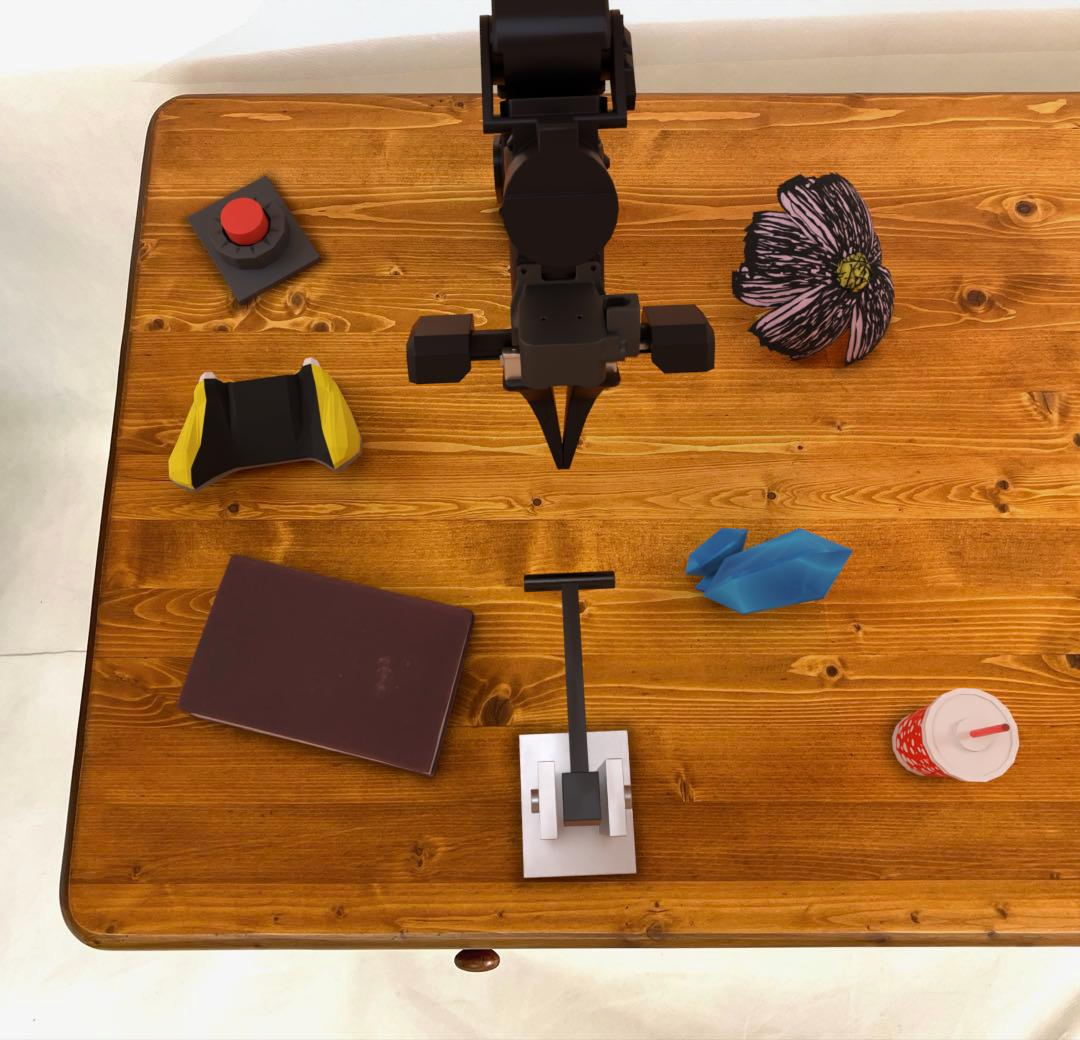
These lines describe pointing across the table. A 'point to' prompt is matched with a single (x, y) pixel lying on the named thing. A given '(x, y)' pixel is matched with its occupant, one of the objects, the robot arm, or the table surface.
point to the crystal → (766, 569)
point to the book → (329, 664)
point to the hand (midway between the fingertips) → (563, 467)
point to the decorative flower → (816, 271)
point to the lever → (575, 692)
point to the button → (244, 221)
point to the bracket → (542, 808)
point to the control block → (256, 244)
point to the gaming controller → (264, 426)
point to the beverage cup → (958, 737)
